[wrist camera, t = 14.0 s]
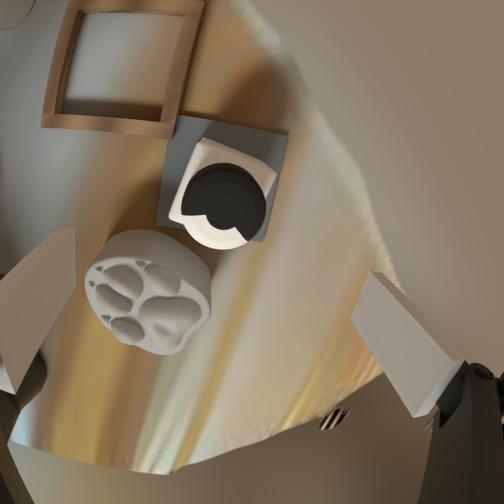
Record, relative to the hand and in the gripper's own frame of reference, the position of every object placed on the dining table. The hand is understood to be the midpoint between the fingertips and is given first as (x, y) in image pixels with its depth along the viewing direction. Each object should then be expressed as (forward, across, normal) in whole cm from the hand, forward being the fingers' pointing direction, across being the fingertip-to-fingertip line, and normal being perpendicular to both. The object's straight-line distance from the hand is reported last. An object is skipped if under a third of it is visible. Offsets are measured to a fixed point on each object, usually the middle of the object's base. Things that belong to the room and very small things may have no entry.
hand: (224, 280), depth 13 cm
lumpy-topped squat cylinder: (+22, -5, -12) cm, 26 cm away
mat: (+22, +1, 0) cm, 22 cm away
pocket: (+22, -12, +11) cm, 28 cm away
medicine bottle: (+21, +1, 0) cm, 21 cm away
